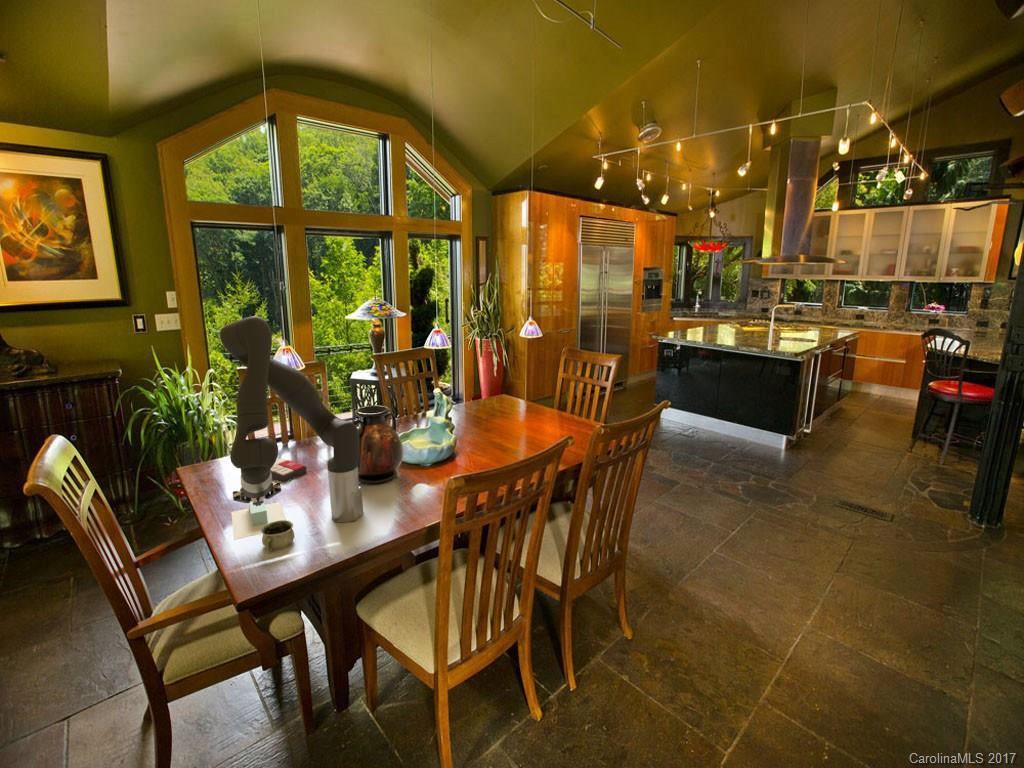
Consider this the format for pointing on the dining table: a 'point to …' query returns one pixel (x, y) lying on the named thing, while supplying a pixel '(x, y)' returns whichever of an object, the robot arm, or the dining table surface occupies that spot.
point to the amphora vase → (378, 446)
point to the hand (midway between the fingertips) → (258, 502)
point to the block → (258, 514)
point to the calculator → (286, 470)
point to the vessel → (277, 535)
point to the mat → (244, 523)
